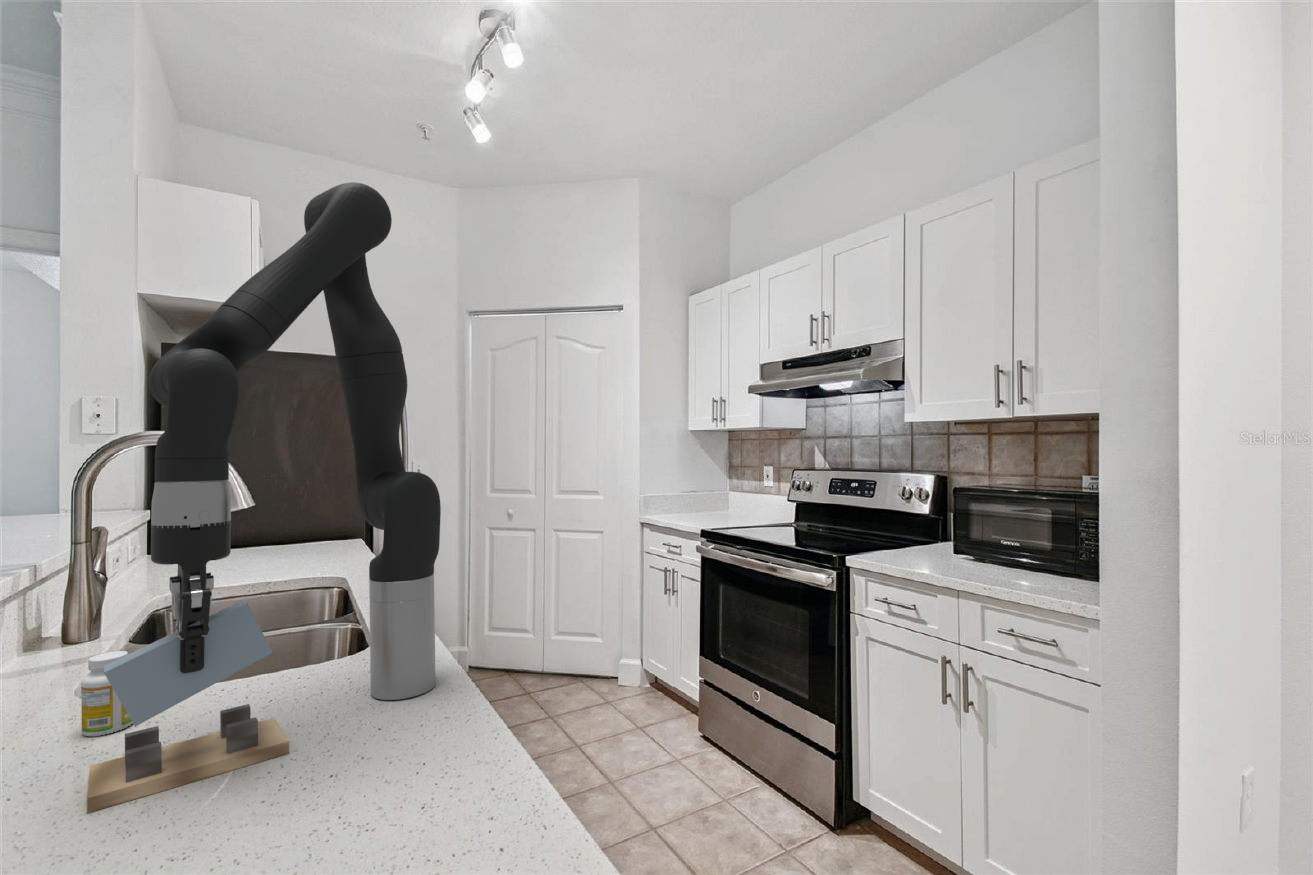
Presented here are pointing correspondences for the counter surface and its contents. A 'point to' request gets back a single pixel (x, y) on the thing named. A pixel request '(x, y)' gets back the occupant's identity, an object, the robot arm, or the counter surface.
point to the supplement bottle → (101, 699)
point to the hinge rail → (183, 758)
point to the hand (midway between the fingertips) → (190, 666)
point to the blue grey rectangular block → (155, 673)
